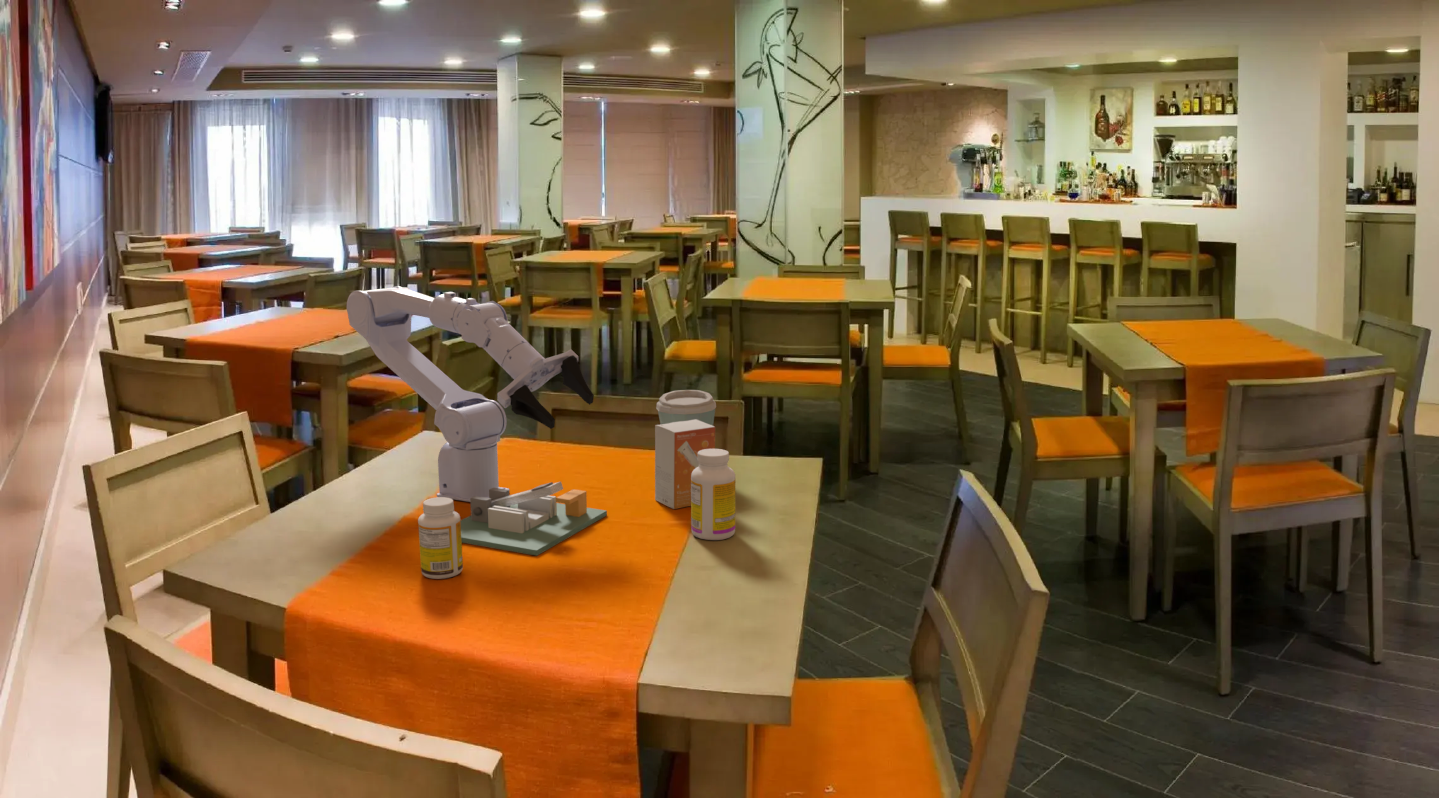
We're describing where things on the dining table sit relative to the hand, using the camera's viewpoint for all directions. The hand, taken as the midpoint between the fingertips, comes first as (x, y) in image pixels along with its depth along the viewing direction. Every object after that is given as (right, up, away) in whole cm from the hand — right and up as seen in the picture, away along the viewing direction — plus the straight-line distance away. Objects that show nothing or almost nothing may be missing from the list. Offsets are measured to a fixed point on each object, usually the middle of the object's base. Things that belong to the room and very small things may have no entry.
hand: (572, 411), depth 166 cm
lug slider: (0, -16, +3) cm, 17 cm away
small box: (+17, -15, +13) cm, 26 cm away
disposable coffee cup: (+17, -12, +27) cm, 34 cm away
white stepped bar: (-7, -14, -1) cm, 15 cm away
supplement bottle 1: (-15, -22, -19) cm, 33 cm away
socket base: (-8, -18, 0) cm, 19 cm away
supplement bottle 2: (+22, -19, -3) cm, 29 cm away
